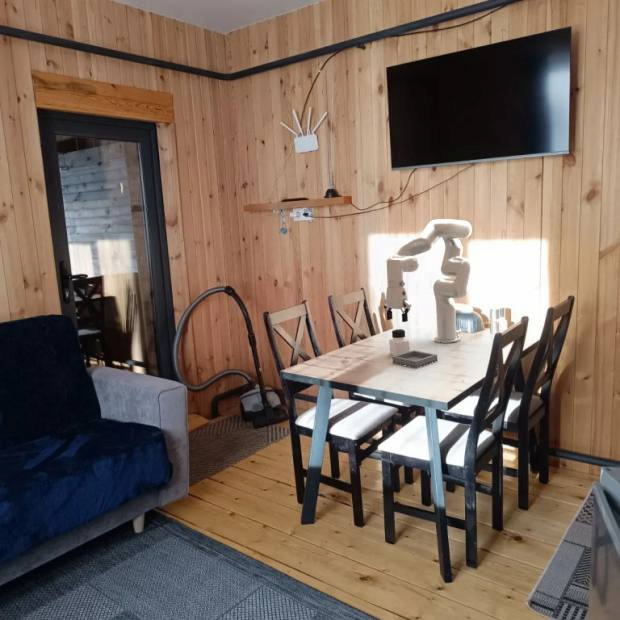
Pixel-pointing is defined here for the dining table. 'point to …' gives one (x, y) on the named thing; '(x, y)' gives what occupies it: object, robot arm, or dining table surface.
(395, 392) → the dining table surface
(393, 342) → the medicine bottle
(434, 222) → the robot arm
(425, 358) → the tray
